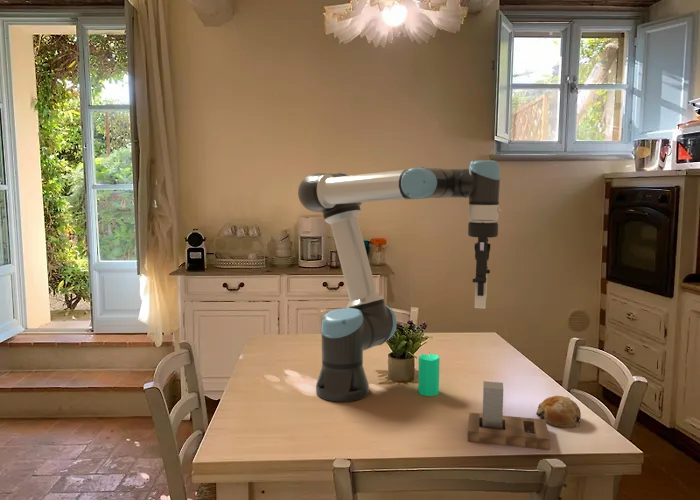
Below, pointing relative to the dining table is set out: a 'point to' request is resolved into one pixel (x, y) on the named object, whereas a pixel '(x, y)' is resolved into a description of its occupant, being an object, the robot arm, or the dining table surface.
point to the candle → (428, 375)
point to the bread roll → (559, 412)
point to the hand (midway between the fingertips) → (480, 302)
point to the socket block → (510, 432)
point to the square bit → (492, 405)
